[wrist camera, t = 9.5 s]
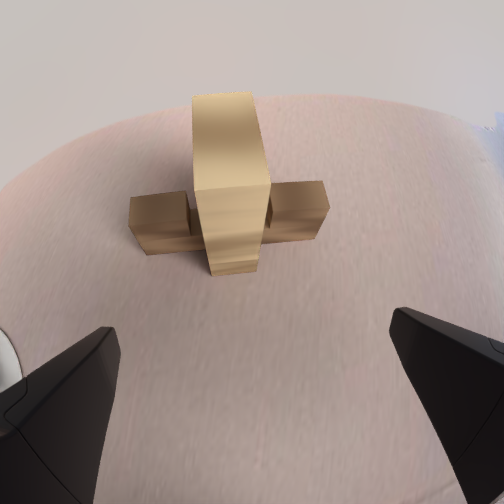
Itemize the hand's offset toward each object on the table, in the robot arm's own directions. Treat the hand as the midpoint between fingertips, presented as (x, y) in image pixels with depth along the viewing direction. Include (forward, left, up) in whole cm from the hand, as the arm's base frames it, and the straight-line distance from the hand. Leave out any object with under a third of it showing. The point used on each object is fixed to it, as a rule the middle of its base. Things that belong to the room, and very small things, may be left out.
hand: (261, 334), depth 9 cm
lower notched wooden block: (+4, +8, -11) cm, 14 cm away
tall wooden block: (+4, +8, -11) cm, 14 cm away
